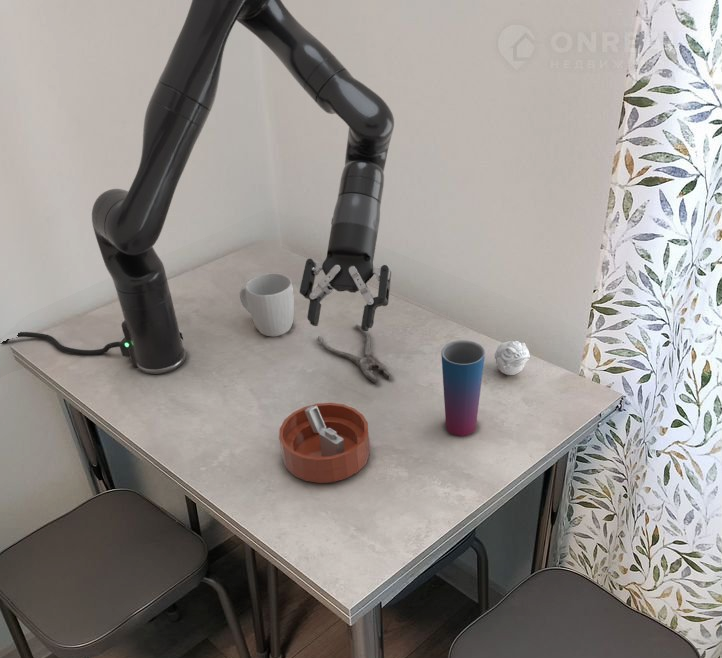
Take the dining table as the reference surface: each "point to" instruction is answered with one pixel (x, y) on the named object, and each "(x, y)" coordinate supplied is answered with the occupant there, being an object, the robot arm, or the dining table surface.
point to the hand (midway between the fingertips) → (338, 327)
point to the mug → (269, 303)
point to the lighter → (325, 433)
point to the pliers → (362, 359)
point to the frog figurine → (511, 357)
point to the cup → (462, 385)
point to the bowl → (306, 449)
